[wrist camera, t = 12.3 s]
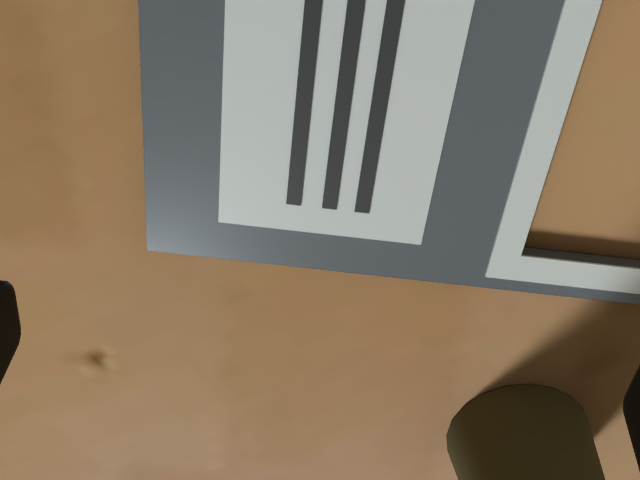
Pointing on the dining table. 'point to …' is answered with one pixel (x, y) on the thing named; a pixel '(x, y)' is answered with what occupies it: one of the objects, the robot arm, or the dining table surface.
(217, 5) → the label plate
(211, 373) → the dining table surface
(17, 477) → the dining table surface
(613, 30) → the dining table surface
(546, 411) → the olive game pawn
